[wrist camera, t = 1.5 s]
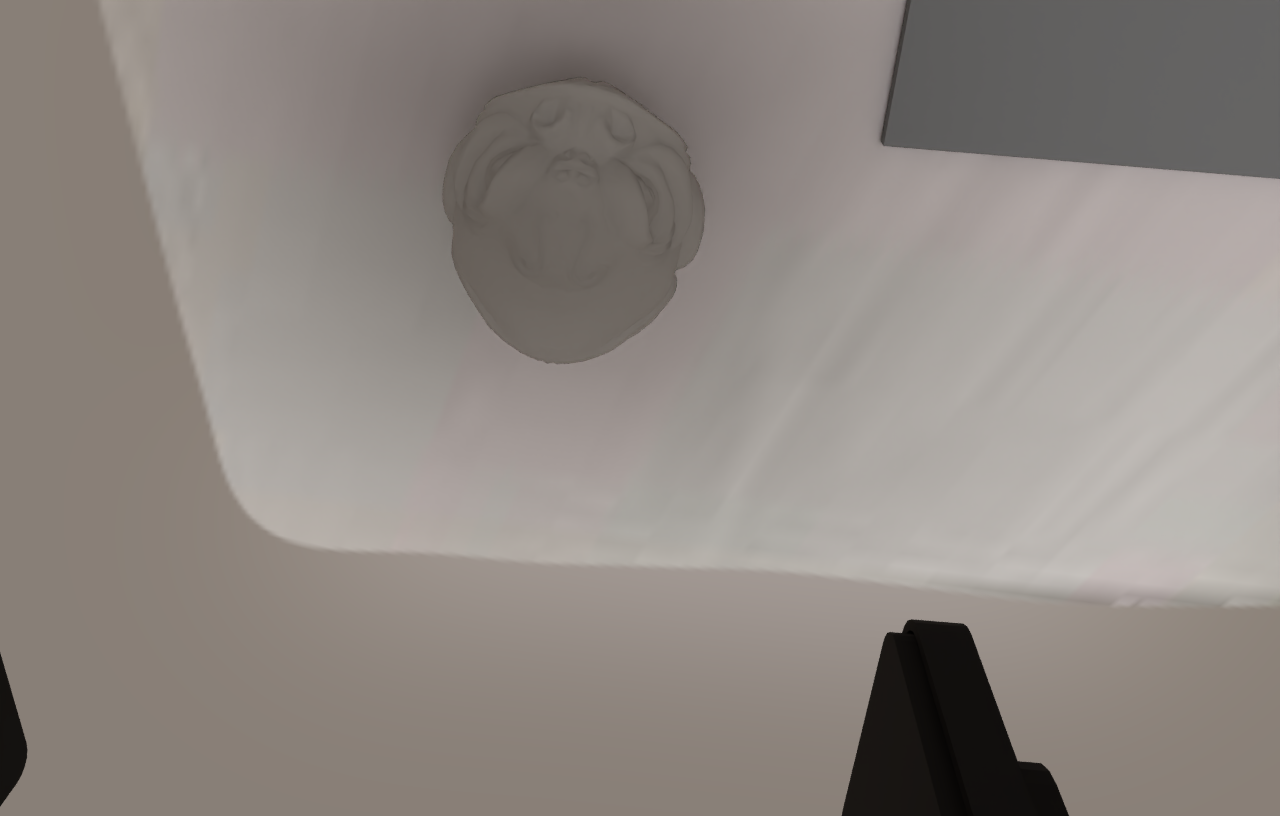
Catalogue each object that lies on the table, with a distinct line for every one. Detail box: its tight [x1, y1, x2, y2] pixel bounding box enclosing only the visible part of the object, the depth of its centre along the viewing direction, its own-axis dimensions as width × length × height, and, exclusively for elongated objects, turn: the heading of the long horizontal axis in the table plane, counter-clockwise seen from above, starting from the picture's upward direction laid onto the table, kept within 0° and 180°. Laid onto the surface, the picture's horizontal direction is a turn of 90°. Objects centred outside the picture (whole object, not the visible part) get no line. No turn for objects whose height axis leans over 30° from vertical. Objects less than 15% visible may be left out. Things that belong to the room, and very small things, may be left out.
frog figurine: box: [443, 78, 705, 364], centre depth 24 cm, size 6×7×7 cm
